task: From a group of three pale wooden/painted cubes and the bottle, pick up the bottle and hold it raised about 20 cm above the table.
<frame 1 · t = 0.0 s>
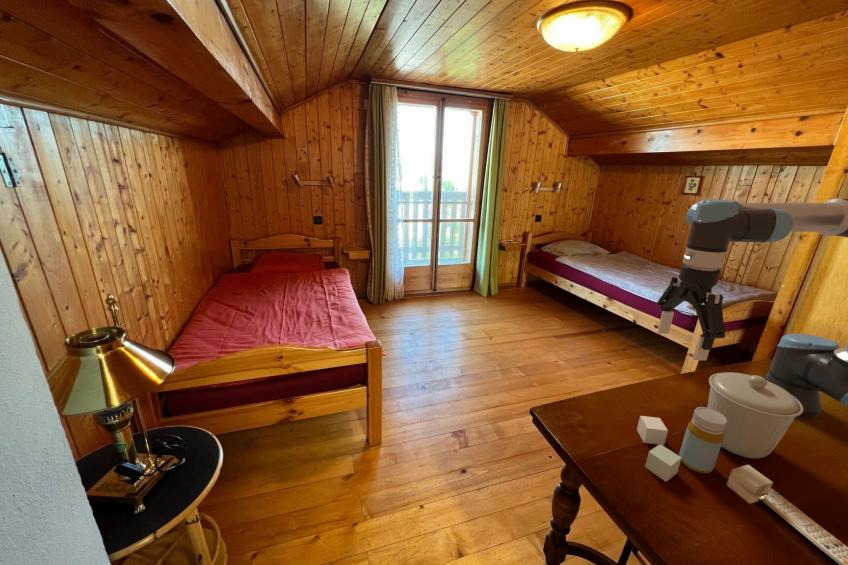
hand: (679, 345, 90), 28 cm above the table, fingers open, 13 cm apart
bottle: (694, 464, 89), on the table
sage cube: (660, 470, 87), on the table
canister: (734, 443, 96), on the table
cream cube: (649, 437, 98), on the table
birch cube: (745, 491, 81), on the table
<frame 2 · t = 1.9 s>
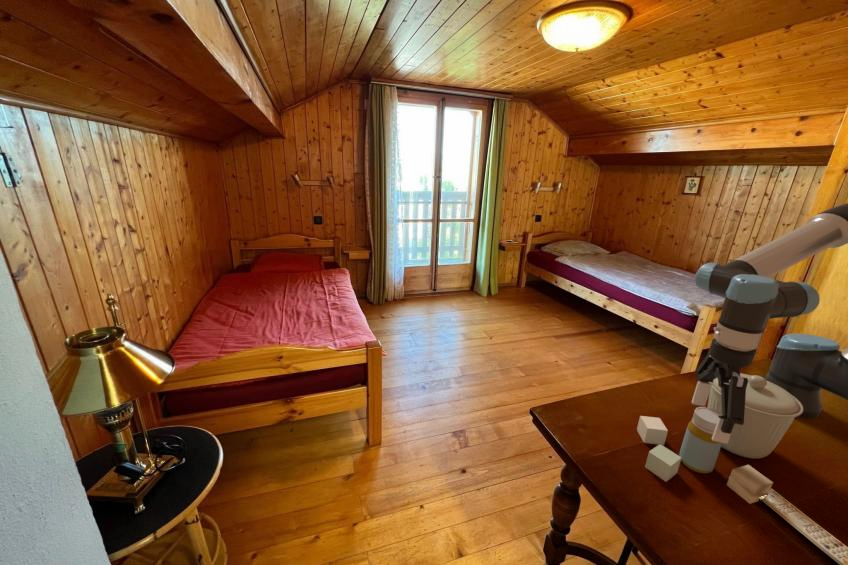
hand: (707, 421, 85), 13 cm above the table, fingers open, 13 cm apart
nothing on the table moved.
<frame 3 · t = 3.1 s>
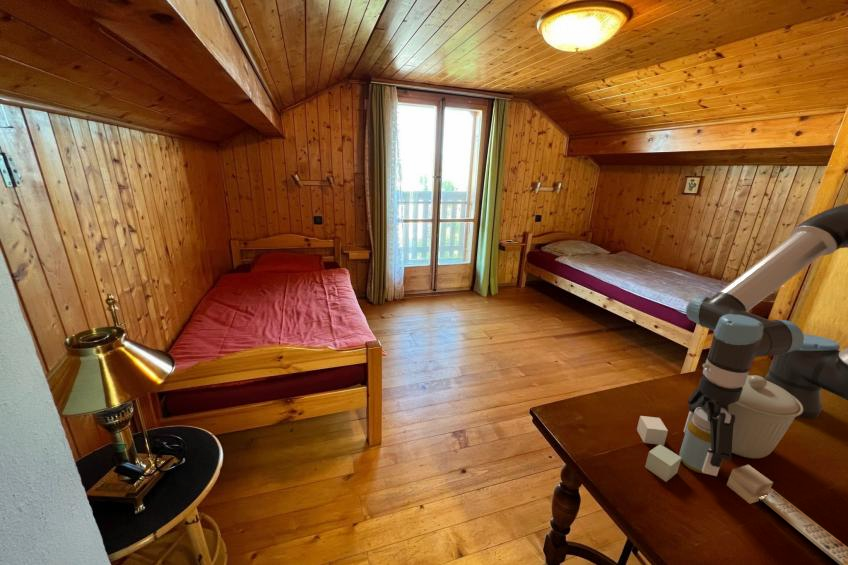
hand: (698, 452, 88), 4 cm above the table, fingers open, 13 cm apart
nothing on the table moved.
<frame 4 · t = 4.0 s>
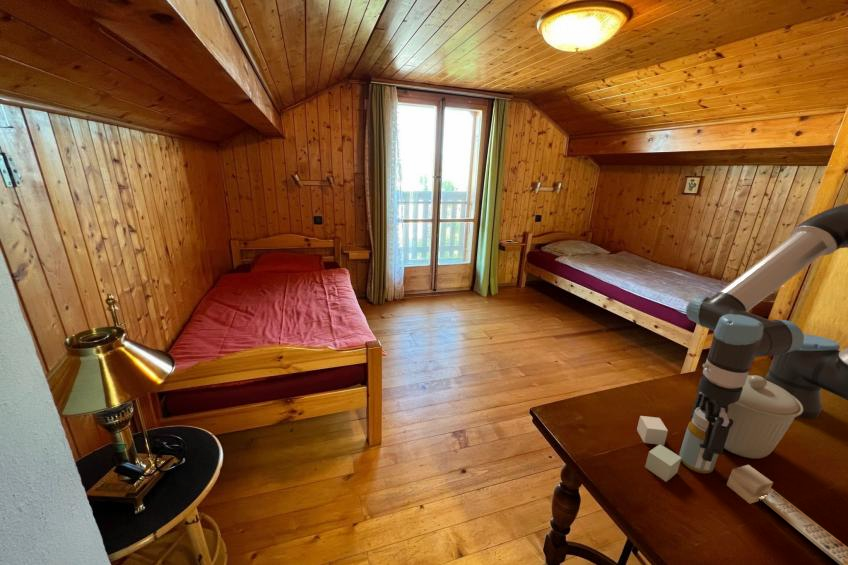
hand: (696, 457, 88), 2 cm above the table, fingers closed on bottle, 6 cm apart
bottle: (694, 464, 89), on the table, touching gripper
everything else where it was.
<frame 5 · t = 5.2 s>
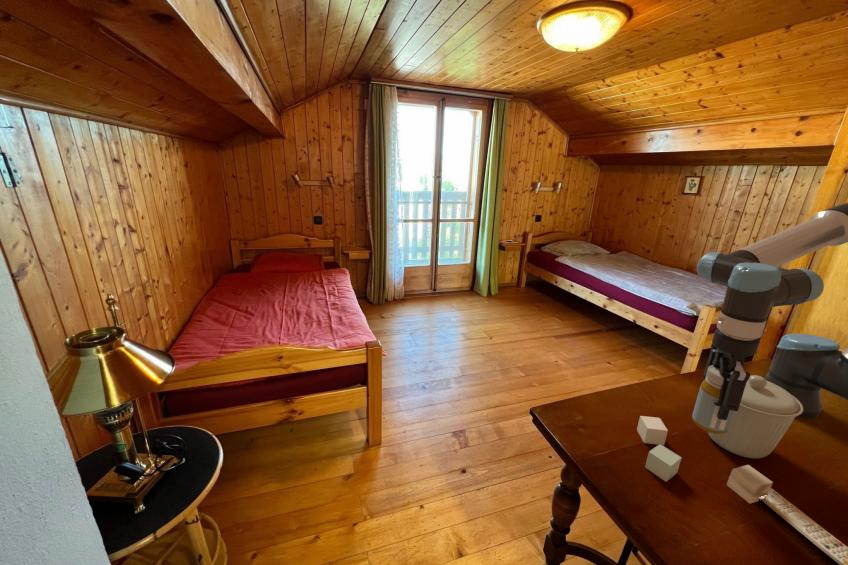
hand: (710, 418, 84), 14 cm above the table, fingers closed on bottle, 6 cm apart
bottle: (708, 425, 85), point 12 cm above the table, touching gripper
everything else where it was.
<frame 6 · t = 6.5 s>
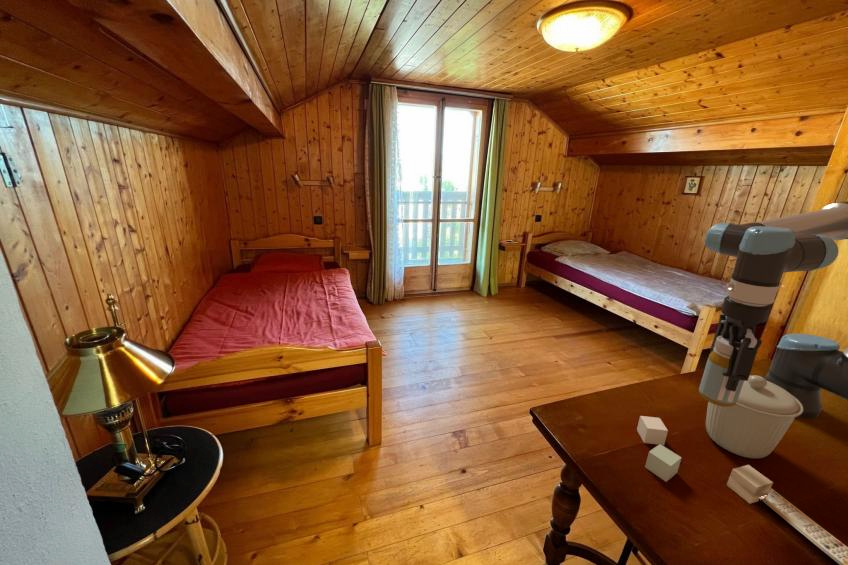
hand: (718, 391, 82), 22 cm above the table, fingers closed on bottle, 6 cm apart
bottle: (716, 399, 82), point 20 cm above the table, touching gripper
everything else where it was.
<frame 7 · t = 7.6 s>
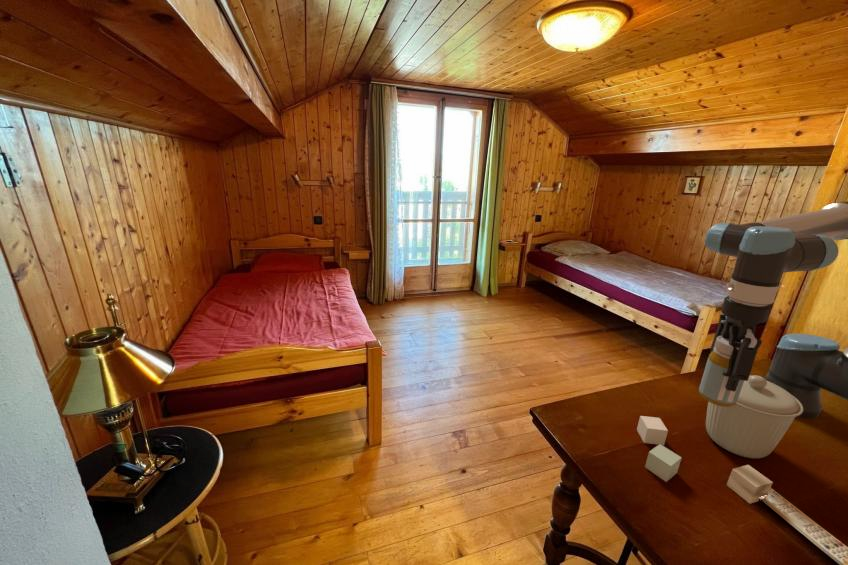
hand: (718, 391, 82), 22 cm above the table, fingers closed on bottle, 6 cm apart
bottle: (716, 399, 82), point 20 cm above the table, touching gripper
everything else where it was.
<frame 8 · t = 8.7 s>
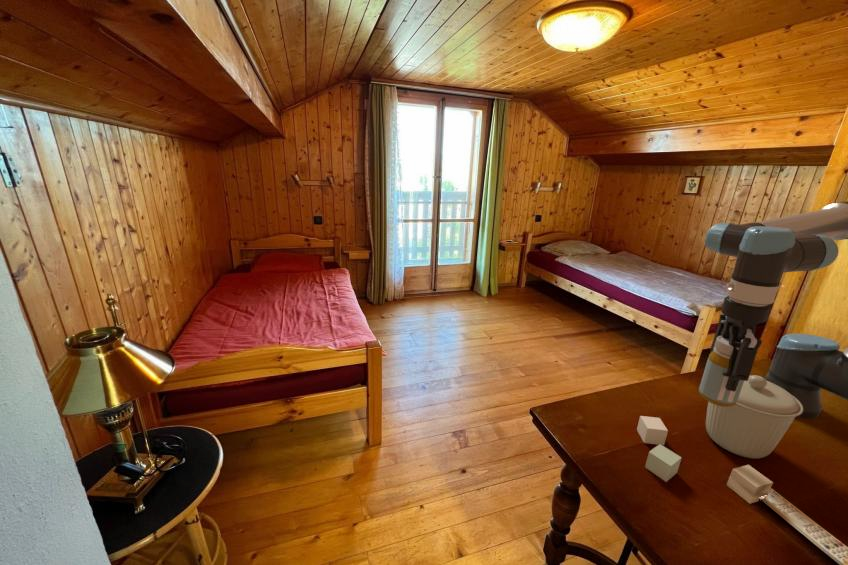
hand: (718, 391, 82), 22 cm above the table, fingers closed on bottle, 6 cm apart
bottle: (716, 399, 82), point 20 cm above the table, touching gripper
everything else where it was.
at the end: the gripper is holding bottle; bottle point 19.7 cm above the table; birch cube moved 0.1 cm from its start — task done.
